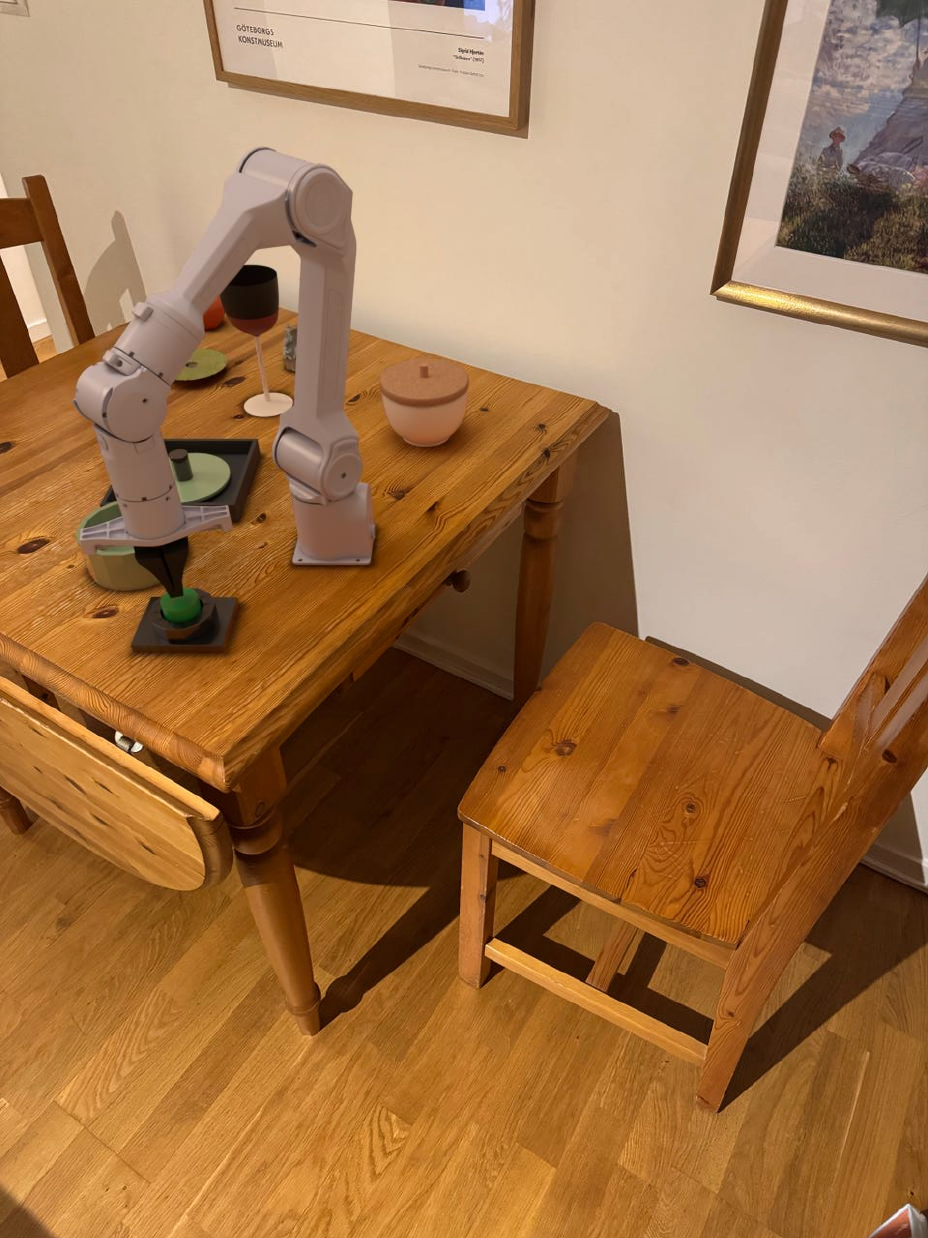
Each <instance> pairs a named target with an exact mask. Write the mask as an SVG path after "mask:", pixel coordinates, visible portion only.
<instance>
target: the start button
mask: <svg viewBox="0 0 928 1238" xmlns="http://www.w3.org/2000/svg"><path fill="white" fill-rule="evenodd" d="M191 588H192V587H188V586H187V587H186V586H183V593H184V596H181V597H176V598H170V596H169V594H168V593H167V591H166V592H165V593H164V594H162V595H163V596H162V595H161V596H162V598H161V600H160V604H161V607H162V610H163V614H164V616H165V618H166V619H167V620H169V621H171V622H185V621H188V620H191V619H193V618H195V617H196V616H197V615H198V614H199V612H200V610H201V604H200V601H199V597H198V594H197V592H196V591H195V590H193V589H191Z"/></svg>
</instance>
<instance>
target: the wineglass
mask: <svg viewBox="0 0 928 1238" xmlns="http://www.w3.org/2000/svg"><path fill="white" fill-rule="evenodd" d="M219 296H220V300H221V303H222V306H223V308H224V311H225V316H226V318H227V319H228V321H229V323H230V324H231V326H232V327H233V328H235V329H236V330H238V331H240V332H242V333H245V334H248V335H250V336H253V338H254V344H255V350H256V356H257V362H258V368H259V372H260V378H261V384H262V390H263V393H260V394H257V395H253V396H252V397H249V398H248V399H247V400H246V401H245V403H244V405H243V409H244V411H245V412H246V413H247V414H249V415H251V416H257V417H273V416H278V415H281V414H282V413H283V412H285V411H287V410H288V409H290V408H291V407H293V405H294V400H293V399H292V398H291V397H290V396H289V395H286V394H284V393H280V392H270V391H269V385H268V380H267V373H266V367H265V361H264V355H263V350H262V344H261V337H260V336H261V335H262V334H265V333H266V332H268V331H270V330H271V329H273V328H274V326H275V325H276V324H277V321H278V319H279V313H280V288H279V278H278V272H277V271H276V269H274V268H273V267H271V266H266V265H261V264H244V266H243V267H242V268H241V269H240V271H239V272H238V273H237V274H236V276H235V277H234V278H233V279H232V280H231V282H230V283H229V284H228V285H227V287H226V288H225V289H224V290H223V292H222V293H221V294H220V295H219Z"/></svg>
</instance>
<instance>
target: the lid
mask: <svg viewBox="0 0 928 1238" xmlns="http://www.w3.org/2000/svg"><path fill="white" fill-rule="evenodd" d="M168 458H169V461H170V465H171V469H172V472H173V476H174V480H175V483H176V487H177V491H178V494H179V498H180V502H201V501H204V500H206V499H209V498H211V497H213V496H215V495H216V494H218V493H219V492H220V491H222V490H223V489H224V488H225V487H226V486H227V484H228V483H229V481H230V478H231V472H230V468H229V466H228V464H227V463H226V462H225V461H224V460H222V459H221V458H219V457H216V456H214V455H210V454H204V453H188V452H187V451H186V450H184V449H177V450H174V451H172V452H170V454H169V457H168Z"/></svg>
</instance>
